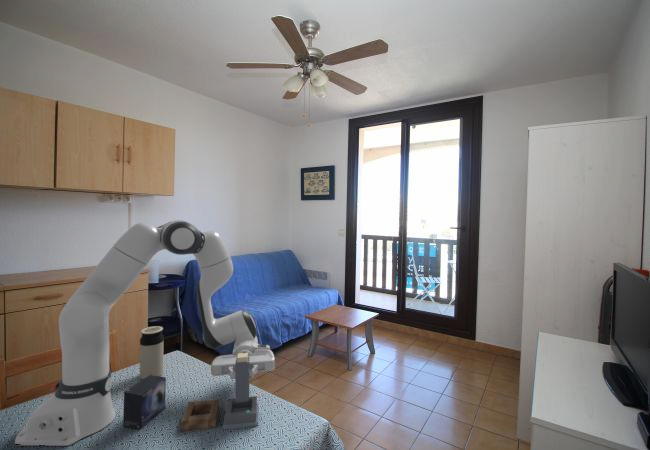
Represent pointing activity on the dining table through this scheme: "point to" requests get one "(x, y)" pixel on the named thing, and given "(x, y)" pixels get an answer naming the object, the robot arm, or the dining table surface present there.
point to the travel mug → (151, 352)
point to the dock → (241, 413)
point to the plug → (242, 378)
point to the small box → (144, 401)
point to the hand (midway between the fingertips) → (242, 375)
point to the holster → (200, 421)
